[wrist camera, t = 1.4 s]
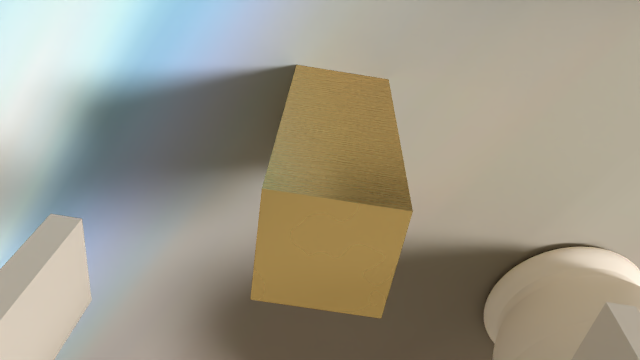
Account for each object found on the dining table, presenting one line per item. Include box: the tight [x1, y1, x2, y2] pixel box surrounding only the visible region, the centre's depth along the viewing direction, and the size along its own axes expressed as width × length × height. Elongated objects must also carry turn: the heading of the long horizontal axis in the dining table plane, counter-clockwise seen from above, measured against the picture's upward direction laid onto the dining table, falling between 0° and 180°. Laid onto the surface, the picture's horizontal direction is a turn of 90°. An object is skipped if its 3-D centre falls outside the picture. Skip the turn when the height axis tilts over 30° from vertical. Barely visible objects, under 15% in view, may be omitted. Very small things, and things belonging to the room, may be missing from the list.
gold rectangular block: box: [250, 65, 413, 318], centre depth 19 cm, size 4×4×10 cm
